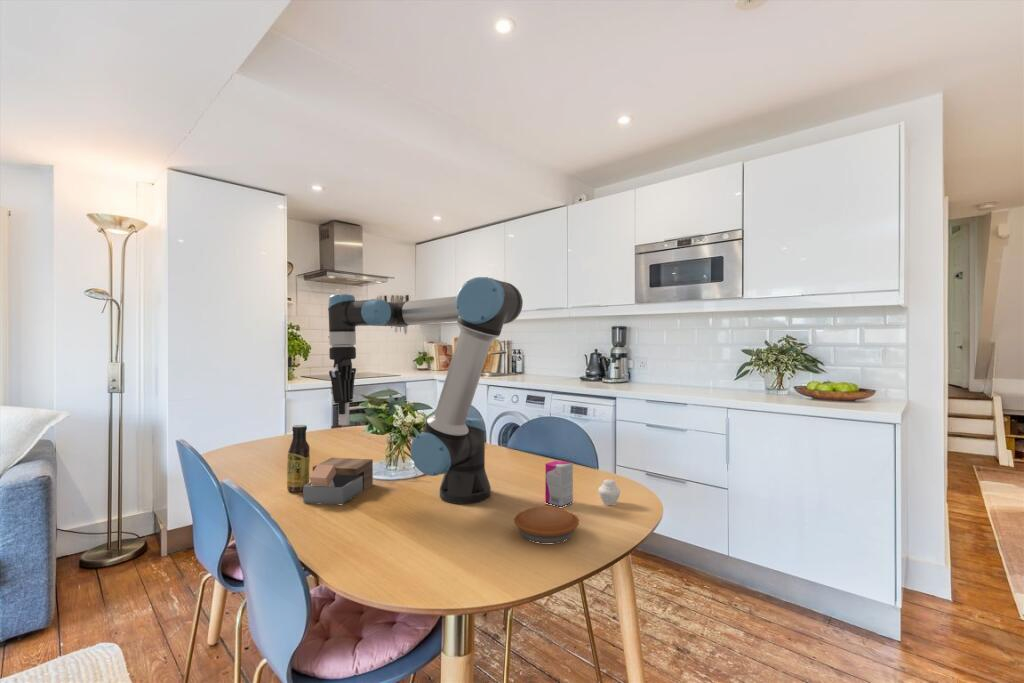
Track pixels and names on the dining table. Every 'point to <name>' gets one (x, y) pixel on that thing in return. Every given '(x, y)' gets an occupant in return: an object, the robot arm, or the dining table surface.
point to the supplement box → (559, 483)
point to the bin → (334, 490)
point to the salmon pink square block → (322, 475)
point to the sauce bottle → (298, 460)
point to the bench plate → (353, 468)
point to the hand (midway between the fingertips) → (344, 424)
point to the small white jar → (609, 492)
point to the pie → (546, 524)
